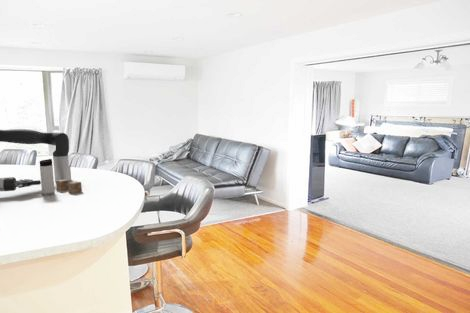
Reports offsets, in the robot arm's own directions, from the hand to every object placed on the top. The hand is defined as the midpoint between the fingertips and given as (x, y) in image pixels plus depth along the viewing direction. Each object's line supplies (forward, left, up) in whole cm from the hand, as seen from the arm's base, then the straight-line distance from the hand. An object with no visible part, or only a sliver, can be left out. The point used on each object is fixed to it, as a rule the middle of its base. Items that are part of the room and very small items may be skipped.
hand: (40, 182), depth 185 cm
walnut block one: (-13, +12, -7) cm, 19 cm away
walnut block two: (-13, 0, -7) cm, 15 cm away
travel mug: (-3, +2, -7) cm, 8 cm away
